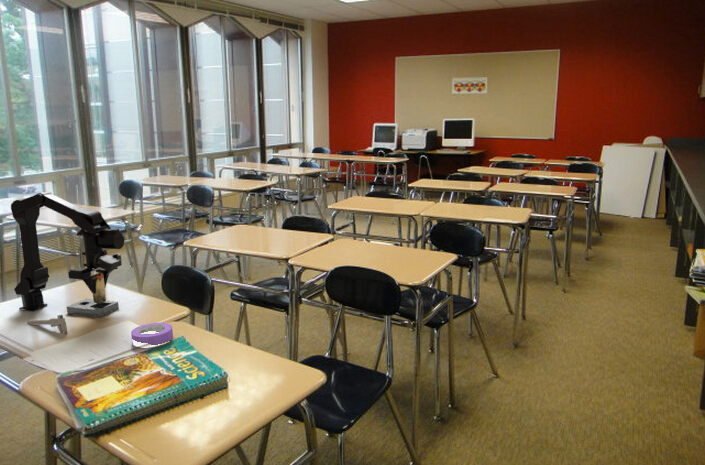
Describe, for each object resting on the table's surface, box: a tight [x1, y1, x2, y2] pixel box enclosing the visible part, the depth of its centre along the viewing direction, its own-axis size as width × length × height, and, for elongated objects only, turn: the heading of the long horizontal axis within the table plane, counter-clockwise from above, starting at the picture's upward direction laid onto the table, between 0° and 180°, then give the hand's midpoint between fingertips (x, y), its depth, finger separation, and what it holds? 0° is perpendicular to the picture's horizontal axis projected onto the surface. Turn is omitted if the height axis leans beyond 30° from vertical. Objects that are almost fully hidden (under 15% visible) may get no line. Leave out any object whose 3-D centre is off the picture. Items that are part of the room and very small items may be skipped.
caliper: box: [27, 314, 68, 335], centre depth 172 cm, size 20×1×6 cm, turn 60°
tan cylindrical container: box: [92, 271, 107, 303], centre depth 185 cm, size 4×4×10 cm
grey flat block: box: [66, 298, 120, 318], centre depth 187 cm, size 14×9×2 cm, turn 72°
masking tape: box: [130, 322, 174, 345], centre depth 161 cm, size 12×12×4 cm
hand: (98, 291), depth 185 cm, fingers closed on tan cylindrical container, 4 cm apart
